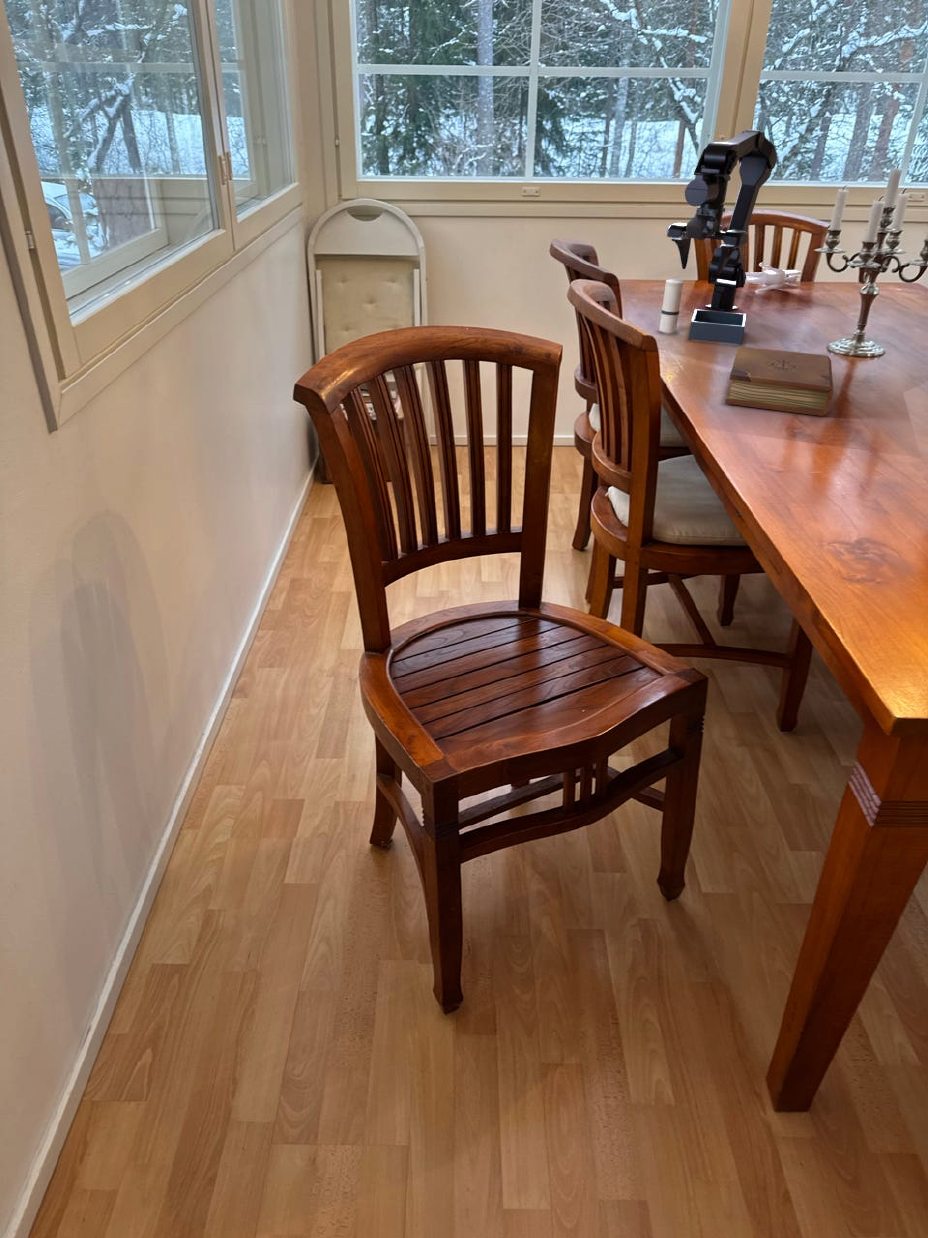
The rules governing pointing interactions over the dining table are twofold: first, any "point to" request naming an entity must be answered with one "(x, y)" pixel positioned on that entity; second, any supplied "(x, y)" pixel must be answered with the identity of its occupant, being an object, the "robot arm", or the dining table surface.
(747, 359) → the diary
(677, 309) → the light grey piece
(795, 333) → the dining table surface
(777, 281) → the figurine
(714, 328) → the box
